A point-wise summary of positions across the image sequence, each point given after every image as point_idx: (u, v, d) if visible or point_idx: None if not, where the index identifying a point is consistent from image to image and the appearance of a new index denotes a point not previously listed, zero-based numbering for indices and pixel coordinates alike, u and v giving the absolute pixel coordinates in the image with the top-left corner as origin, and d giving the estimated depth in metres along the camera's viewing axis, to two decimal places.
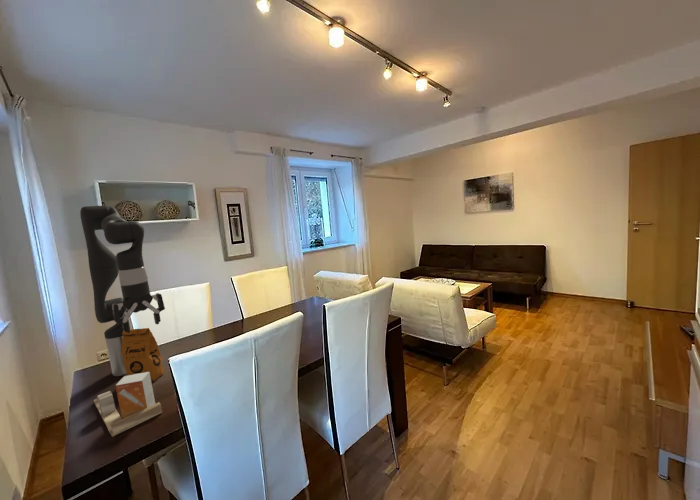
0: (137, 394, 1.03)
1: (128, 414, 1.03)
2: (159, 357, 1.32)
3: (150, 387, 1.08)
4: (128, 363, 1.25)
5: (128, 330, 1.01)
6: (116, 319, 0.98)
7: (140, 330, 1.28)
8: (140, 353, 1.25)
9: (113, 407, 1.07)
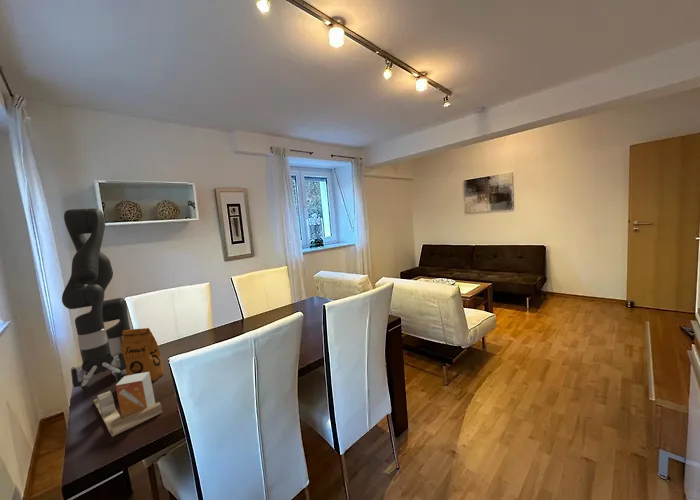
0: (137, 394, 1.03)
1: (128, 414, 1.03)
2: (159, 357, 1.32)
3: (150, 387, 1.08)
4: (128, 363, 1.25)
5: (87, 393, 1.02)
6: (74, 384, 0.99)
7: (140, 330, 1.28)
8: (140, 353, 1.25)
9: (113, 407, 1.07)
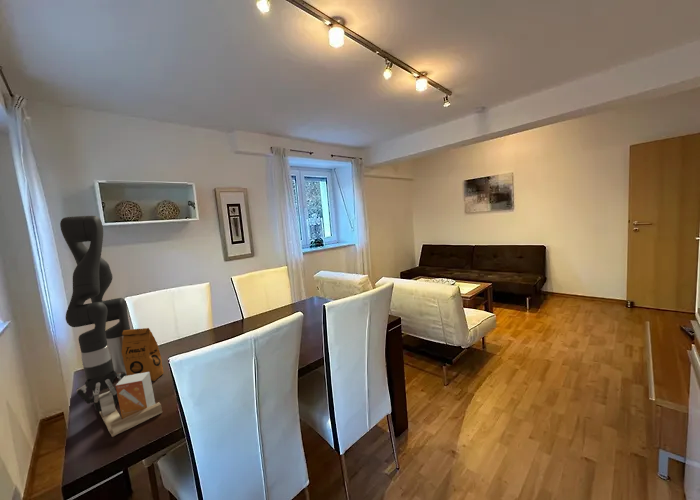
0: (137, 394, 1.03)
1: (128, 414, 1.03)
2: (159, 357, 1.32)
3: (150, 387, 1.08)
4: (128, 363, 1.25)
5: (100, 409, 1.05)
6: (87, 401, 1.02)
7: (140, 330, 1.28)
8: (140, 353, 1.25)
9: (113, 407, 1.07)
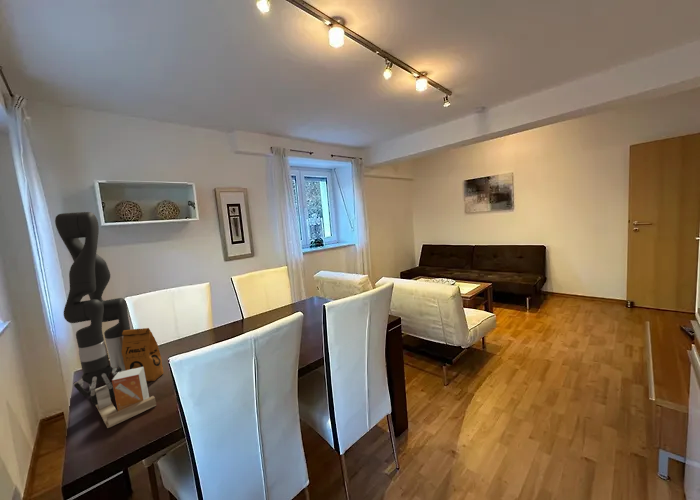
0: (134, 388, 1.07)
1: (124, 408, 1.07)
2: (159, 357, 1.32)
3: (145, 381, 1.12)
4: (128, 363, 1.25)
5: (96, 402, 1.09)
6: (83, 394, 1.06)
7: (140, 330, 1.28)
8: (140, 353, 1.25)
9: (109, 400, 1.11)
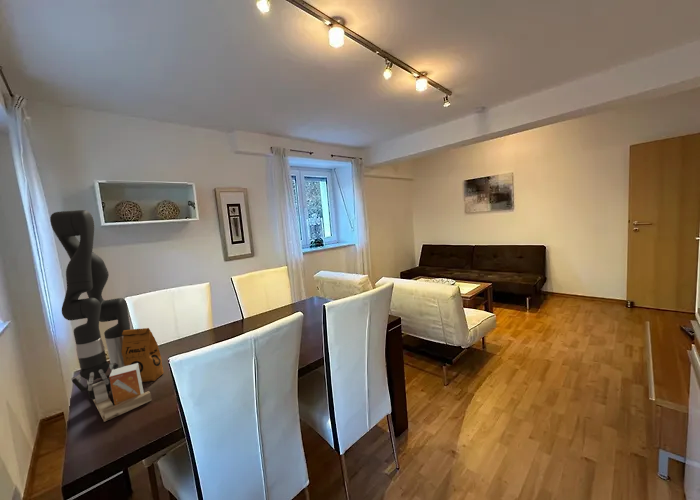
0: (131, 383, 1.11)
1: None
2: (159, 357, 1.32)
3: (140, 377, 1.16)
4: (128, 363, 1.25)
5: (93, 397, 1.12)
6: (81, 389, 1.10)
7: (140, 330, 1.28)
8: (140, 353, 1.25)
9: (106, 395, 1.14)
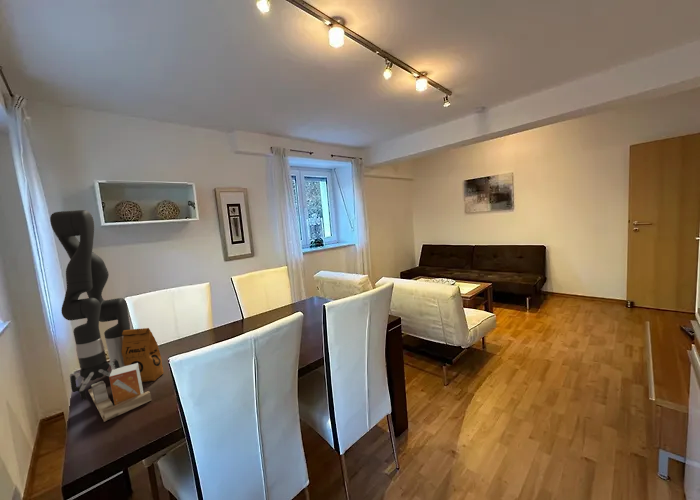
0: (131, 383, 1.11)
1: None
2: (159, 357, 1.32)
3: (140, 377, 1.16)
4: (128, 363, 1.25)
5: (85, 397, 1.11)
6: (73, 389, 1.08)
7: (140, 330, 1.28)
8: (140, 353, 1.25)
9: (106, 395, 1.15)
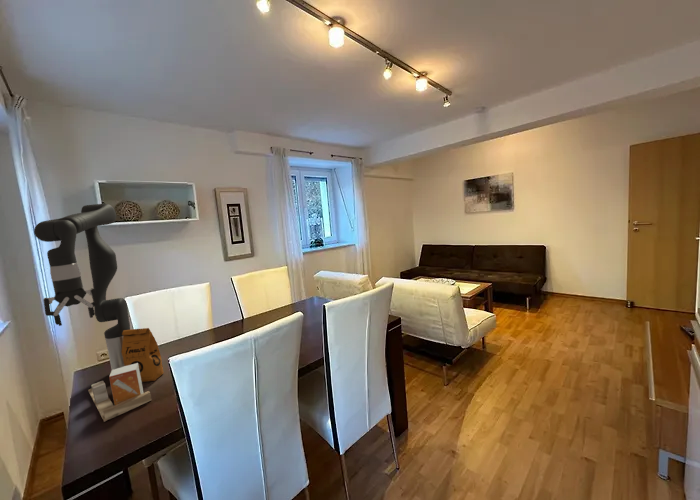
0: (131, 383, 1.11)
1: None
2: (159, 357, 1.32)
3: (140, 377, 1.16)
4: (128, 363, 1.25)
5: (60, 323, 1.07)
6: (47, 312, 1.04)
7: (140, 330, 1.28)
8: (140, 353, 1.25)
9: (106, 395, 1.15)
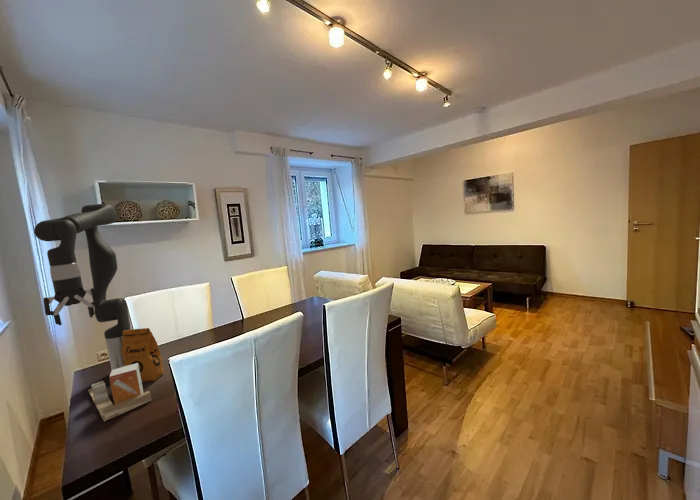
0: (131, 383, 1.11)
1: None
2: (159, 357, 1.32)
3: (140, 377, 1.16)
4: (128, 363, 1.25)
5: (59, 322, 1.07)
6: (46, 312, 1.05)
7: (140, 330, 1.28)
8: (140, 353, 1.25)
9: (106, 395, 1.15)
